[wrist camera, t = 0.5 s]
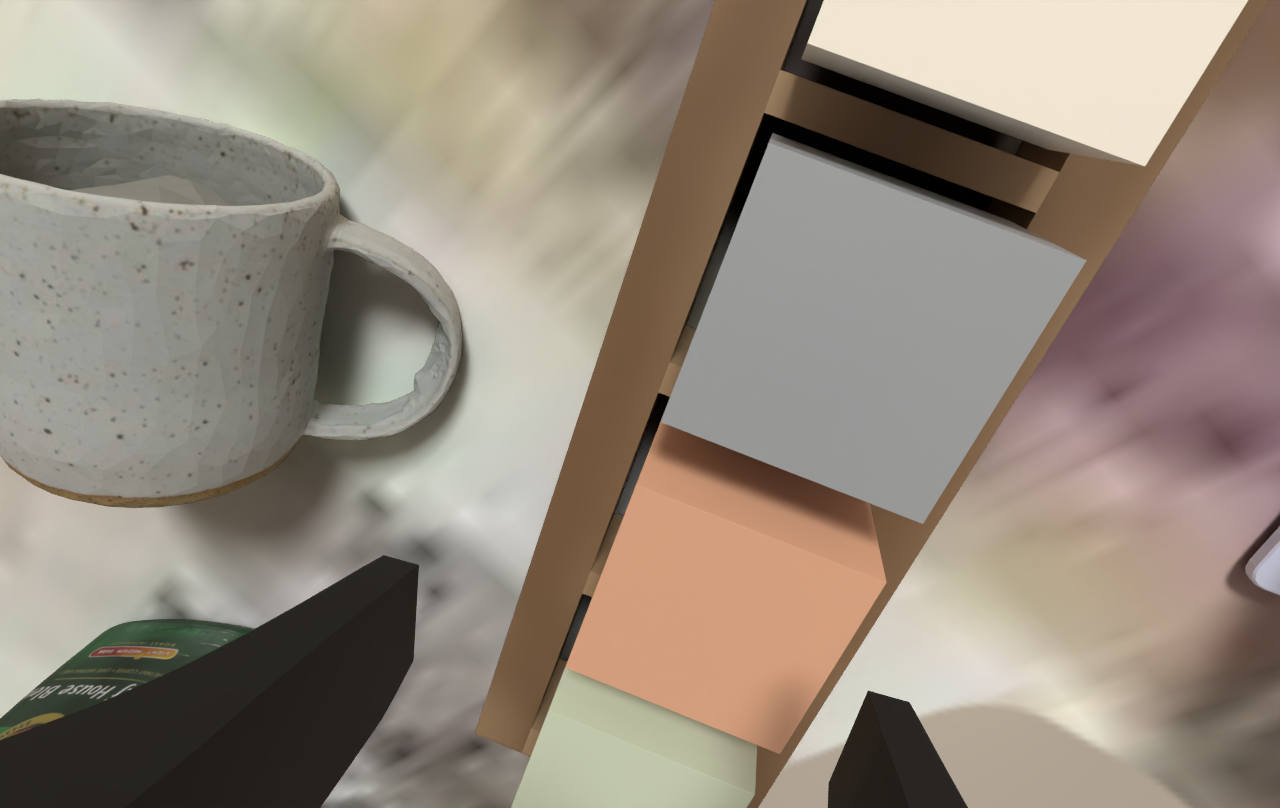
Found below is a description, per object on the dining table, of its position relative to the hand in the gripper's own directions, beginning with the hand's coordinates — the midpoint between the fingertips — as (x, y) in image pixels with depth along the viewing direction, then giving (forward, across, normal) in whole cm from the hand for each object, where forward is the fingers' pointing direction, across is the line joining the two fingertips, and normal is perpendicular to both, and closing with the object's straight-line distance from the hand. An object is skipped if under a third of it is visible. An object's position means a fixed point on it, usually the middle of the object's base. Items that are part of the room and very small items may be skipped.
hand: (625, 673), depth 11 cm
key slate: (+7, -2, -5) cm, 9 cm away
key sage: (+7, 0, +8) cm, 10 cm away
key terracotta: (+7, -1, +1) cm, 7 cm away
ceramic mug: (+10, +12, -1) cm, 16 cm away
